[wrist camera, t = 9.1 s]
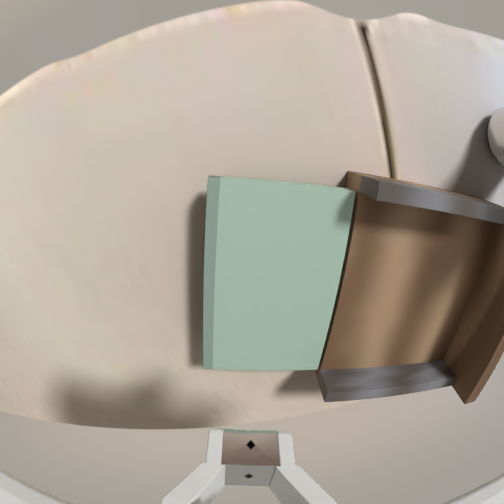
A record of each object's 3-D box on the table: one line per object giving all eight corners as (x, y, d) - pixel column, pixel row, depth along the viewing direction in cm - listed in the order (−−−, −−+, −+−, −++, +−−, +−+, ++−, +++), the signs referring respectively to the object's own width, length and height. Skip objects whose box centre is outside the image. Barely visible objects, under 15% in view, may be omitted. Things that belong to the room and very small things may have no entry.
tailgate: (355, 191, 20) (207, 178, 19) (317, 369, 25) (203, 368, 24) (347, 188, 21) (209, 175, 20) (313, 359, 27) (204, 357, 26)
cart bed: (485, 200, 23) (548, 226, 15) (437, 351, 29) (474, 401, 21) (347, 171, 22) (403, 189, 14) (312, 358, 28) (331, 428, 20)
